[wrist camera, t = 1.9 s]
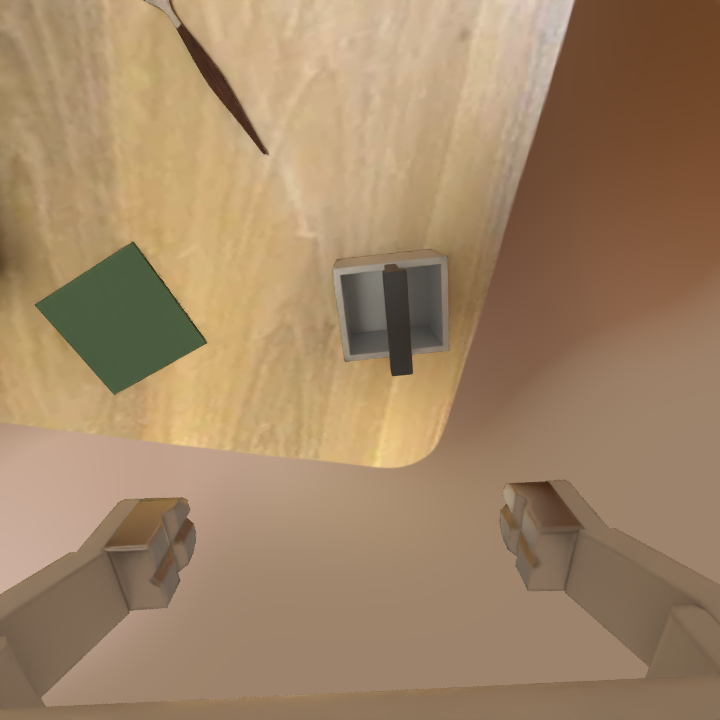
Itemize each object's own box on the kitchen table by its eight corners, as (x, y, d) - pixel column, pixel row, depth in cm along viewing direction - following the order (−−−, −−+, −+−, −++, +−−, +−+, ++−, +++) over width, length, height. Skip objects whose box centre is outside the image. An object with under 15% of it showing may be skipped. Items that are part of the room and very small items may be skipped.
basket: (431, 248, 30) (462, 262, 21) (433, 328, 33) (463, 370, 24) (336, 259, 31) (327, 277, 22) (346, 337, 33) (342, 383, 24)
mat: (133, 242, 30) (131, 242, 30) (207, 342, 33) (206, 343, 33) (36, 304, 32) (34, 304, 32) (115, 393, 35) (114, 394, 35)
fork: (253, 165, 28) (246, 162, 26) (92, -68, 23) (69, -93, 21) (279, 144, 28) (274, 138, 26) (121, -99, 23) (100, -127, 21)
